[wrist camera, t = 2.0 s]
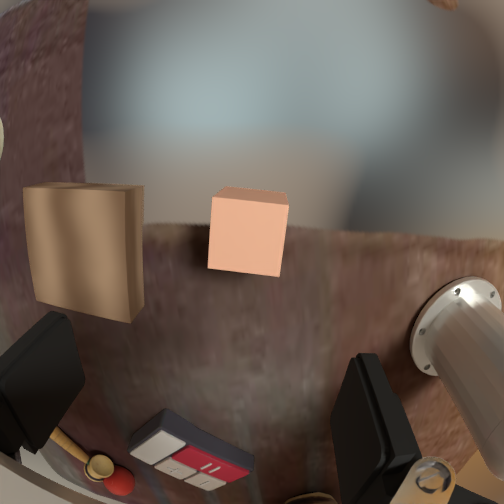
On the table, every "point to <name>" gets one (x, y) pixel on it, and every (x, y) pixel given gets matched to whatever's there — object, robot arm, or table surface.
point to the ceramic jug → (312, 499)
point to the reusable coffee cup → (1, 138)
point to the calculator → (189, 452)
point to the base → (87, 246)
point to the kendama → (98, 466)
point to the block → (247, 230)
